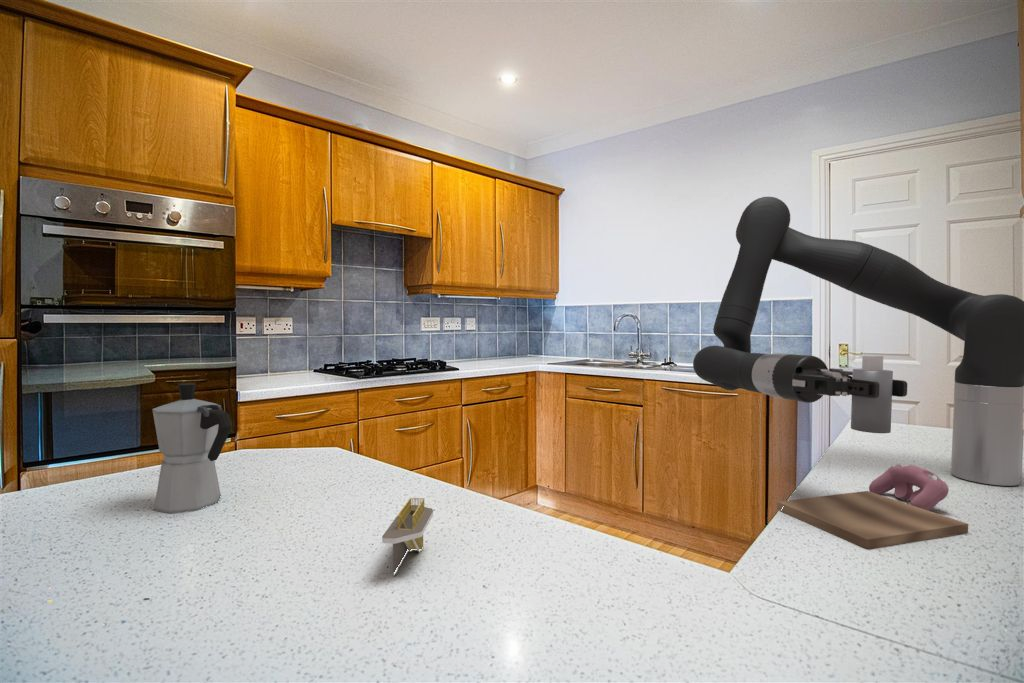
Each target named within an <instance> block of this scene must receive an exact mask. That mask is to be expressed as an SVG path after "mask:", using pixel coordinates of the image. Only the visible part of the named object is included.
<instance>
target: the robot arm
mask: <svg viewBox="0 0 1024 683" xmlns="http://www.w3.org/2000/svg"><path fill="white" fill-rule="evenodd" d="M790 224H791V212H790V209H789V207H788V206H787V204H786V202H784V201H783V200H781V199H779V198H778V197H775V196H762V197H759V198H756V199H755V200H752V202H750V203H749V204H748V205H747V206H746V208H745V209H744V210H743V212H742V213H741V216H740V219H739V222H738V224H737V227H736V229H735V230H736V231H735V238H736V241H737V243H738V244H739V250H738V254H737V256H736V257H737V258H736V261H735V264H734V266H733V269H732V273H731V275H730V278H729V280H728V282H727V285H726V287H725V291H724V293H723V295H722V298H721V302H720V304H719V307H718V311H717V314H716V318H715V321H714V324H713V328H712V331H713V335H714V336H715V337H716V338H717V339H719V340H720V341H721V343H722V344H723V345H722V346H720V345H708V346H705V347H703V348H701V349H700V350H698V352H697V353H696V354H695V355H694V358H693V361H692V365H693V366H692V367H693V370H694V372H695V373H694V374H696V376H698V378H700V379H701V380H703V381H705V382H708V383H710V384H712V385H715V386H716V387H719V388H721V389H724V390H727V391H735V390H738V389H743V390H744V391H745V390H746V391H749V392H753V393H758V394H759V393H760V394H764V395H767V396H770V397H773V398H779V399H785V400H791V401H796V402H801V403H806V404H807V403H809V404H811V403H815V402H817V401H819V400H821V399H822V398H823V396H829V397H840V396H842V397H847V396H852V395H855V396H862V397H868V398H877V397H879V383H878V382H876V381H867V380H858V379H852V375H853V370H844V369H842V368H835V367H834V368H833V367H831V368H828V366H827V364H826V363H825V362H824V361H823V359H821V358H820V357H818V356H815V355H806V354H792V353H781V352H780V353H778V352H777V353H760V352H751V350H752V346H751V345H752V344H751V342H752V341H751V338H752V337H751V335H752V331H753V328H754V326H755V325H754V324H755V321H756V317H757V314H758V310H759V306H760V304H761V298H762V295H763V291H764V286H765V283H766V280H767V275H768V272H769V269H770V266H771V263H772V260H773V261H775V262H776V261H777V262H780V263H783V264H786V265H789V266H791V267H794V268H797V269H799V270H801V271H804V272H806V273H808V274H810V275H812V276H815V277H817V278H820V279H822V280H825V281H827V282H828V283H832V284H834V285H836V286H838V287H840V288H843V289H845V290H846V291H849V292H851V293H853V294H856V295H858V296H861V297H863V298H866V299H867V300H871V301H874V302H875V303H876V302H877V303H879V304H882V305H885V306H887V307H889V308H894V309H896V310H899V311H902V312H906V313H908V314H911V315H914V316H916V317H918V318H920V319H922V320H925V321H926V322H928V323H930V324H932V325H934V326H936V327H938V328H940V329H941V330H944V331H945V332H947V333H949V334H951V335H952V336H954V337H956V338H958V339H960V340H961V341H963V354H962V358H961V361H960V364H958V365H957V366H956V368H955V370H954V384H953V385H954V388H953V415H952V416H953V418H952V435H951V436H952V440H951V442H952V443H951V457H950V458H951V460H950V461H951V462H950V474H951V475H952V476H955V477H957V478H958V479H962V480H966V481H971V482H974V483H979V484H986V485H993V486H1003V487H1005V486H1006V487H1009V486H1010V487H1011V486H1013V487H1014V486H1019V485H1020V484H1021V481H1022V478H1023V476H1022V473H1023V472H1022V471H1023V455H1024V454H1023V453H1024V429H1023V423H1024V300H1022V299H1021V298H1020V297H1017V296H1014V295H1010V294H1005V293H1004V294H1003V293H1001V294H998V293H997V294H996V293H995V294H986V295H982V294H978V293H973V292H971V291H966V290H964V289H960V288H958V287H954V286H953V285H952V286H951V285H948V284H946V283H944V282H941V281H939V280H936V279H934V277H931V276H930V275H928V274H927V273H926V272H924V271H923V270H922V269H920V268H918V267H917V266H915V265H914V264H912V262H910V261H908V260H906V259H905V258H903V257H901V256H898V255H896V254H895V253H892V252H890V251H886V250H884V249H882V248H879V247H877V246H873V245H871V244H868V243H864V242H862V241H855V240H850V239H848V240H847V239H836V238H835V239H834V238H822V237H815V236H812V235H809V234H805V233H803V232H801V231H798V230H796V229H794V228H791V226H790ZM789 226H790V227H789ZM906 396H908V381H906V380H902V379H893V383H892V397H898V398H899V397H902V398H904V397H906ZM1020 480H1021V481H1020Z"/></svg>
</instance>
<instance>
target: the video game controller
mask: <svg viewBox="0 0 1024 683" xmlns="http://www.w3.org/2000/svg"><path fill="white" fill-rule="evenodd" d="M913 487H916V488H919V489H917V490H915V491H914V489H913ZM893 489H894V491H893V493H894V496H895V497H896V498H898V499H900V500H902V501H910V503H909V505H912V506H915V507H918V508H921V509H924V510H928V511H931V510H932V509H933V508H934V507H936V506H937V504H939V503H940V502H941V501H943V500H945V498H947V496H948V494H949V486H948V485H947V483H946V482H945V481H944V480H942V479H941V478H940V477H939V476H938V475H936V474H935V473H933V472H931V471H930V470H927V469H925V468H923V467H920V466H916V465H912V464H909V465H906V464H905V465H903V464H901V463H896V464H895V465H893V466H890V467H889V468H888V469H886V470H885V471H884V472H883V473H882V474H881V475H879V476H877V477H876V478H874V479H873V480H872V481H871V483H870V484H869V486H868V491H869V492H872V493H876V494H879V495H882V494H883V495H884V494H885V493H888V492H889V491H892V490H893Z"/></svg>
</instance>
